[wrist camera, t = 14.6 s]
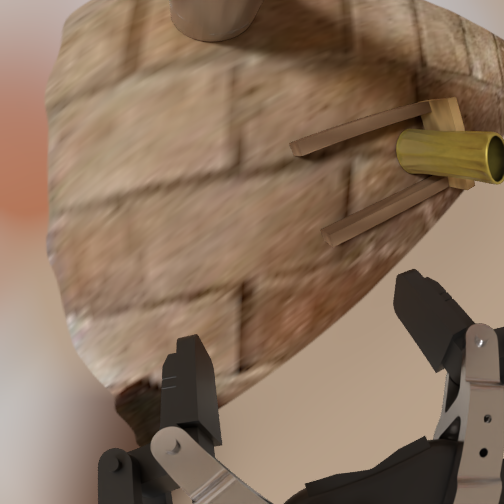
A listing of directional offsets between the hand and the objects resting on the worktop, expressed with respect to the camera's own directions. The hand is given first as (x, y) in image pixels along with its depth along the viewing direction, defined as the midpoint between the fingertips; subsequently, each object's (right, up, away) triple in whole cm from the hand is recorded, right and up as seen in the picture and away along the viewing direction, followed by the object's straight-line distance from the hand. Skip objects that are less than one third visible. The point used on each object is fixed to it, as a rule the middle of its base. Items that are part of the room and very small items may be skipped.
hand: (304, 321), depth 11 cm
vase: (+19, +16, +22) cm, 33 cm away
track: (+14, +14, +22) cm, 29 cm away
